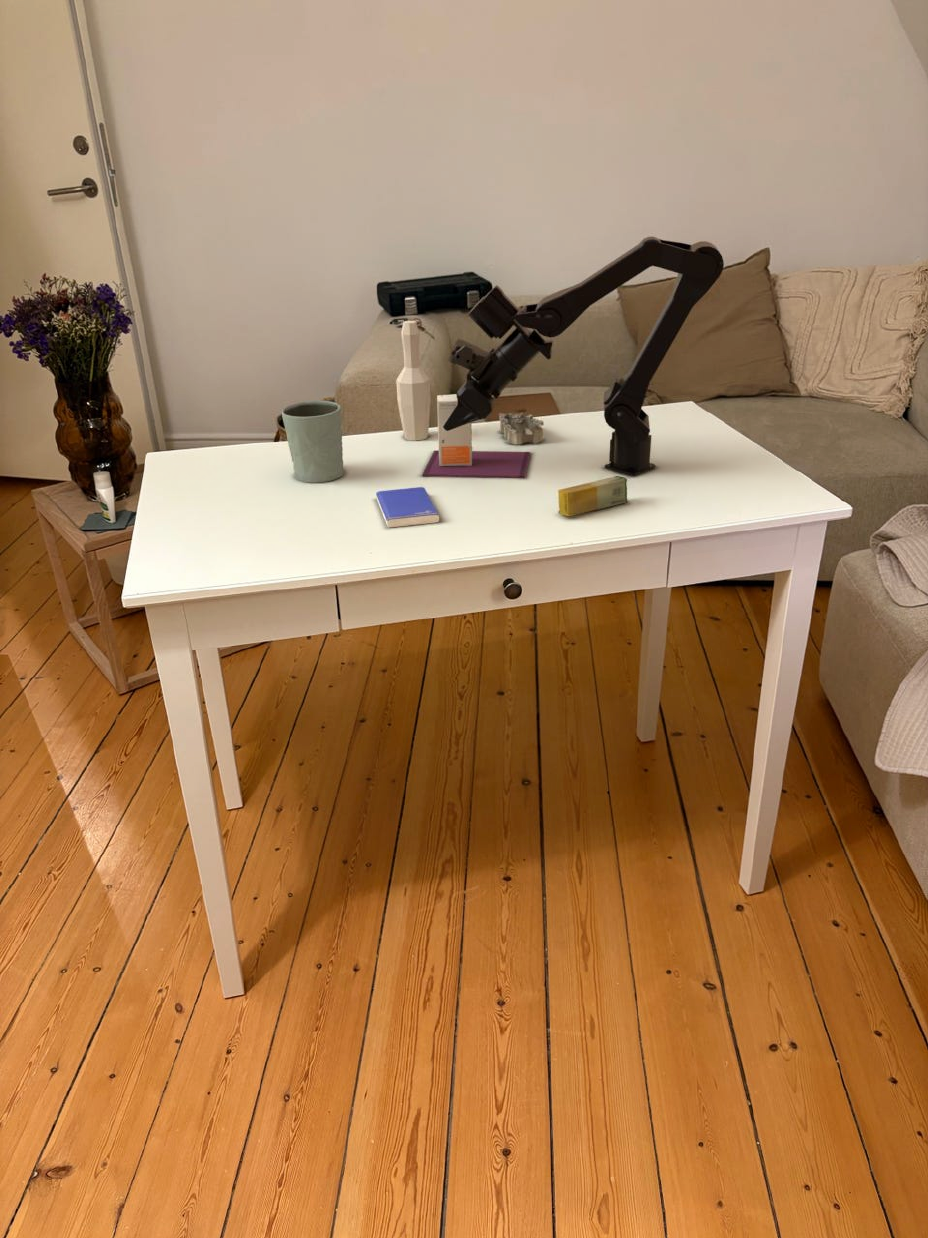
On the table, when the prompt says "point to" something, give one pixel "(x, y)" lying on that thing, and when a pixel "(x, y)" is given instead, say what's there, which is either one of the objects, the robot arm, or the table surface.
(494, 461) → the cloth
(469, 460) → the cosmetic box
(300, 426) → the green plant pot
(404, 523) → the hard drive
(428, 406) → the faceted bottle
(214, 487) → the table surface
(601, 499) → the medication box
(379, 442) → the table surface
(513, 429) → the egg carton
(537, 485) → the table surface
